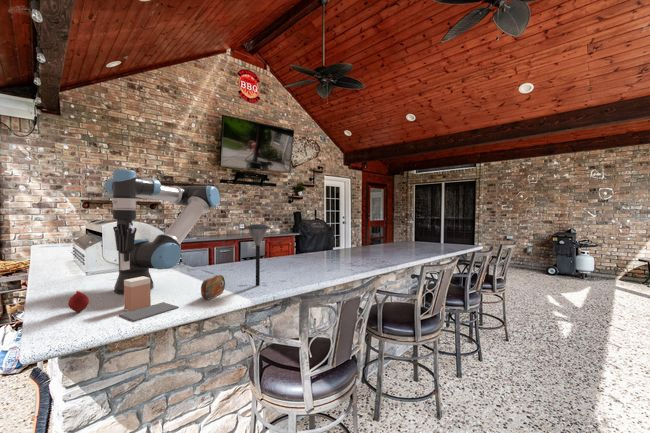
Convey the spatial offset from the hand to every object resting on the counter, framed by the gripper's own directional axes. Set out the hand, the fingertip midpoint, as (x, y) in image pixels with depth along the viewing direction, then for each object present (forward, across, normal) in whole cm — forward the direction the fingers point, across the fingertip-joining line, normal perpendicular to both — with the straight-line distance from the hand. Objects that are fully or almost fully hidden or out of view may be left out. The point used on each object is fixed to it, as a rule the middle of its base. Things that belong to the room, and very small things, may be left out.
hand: (125, 269), depth 118 cm
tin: (+14, +20, +25) cm, 35 cm away
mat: (+14, +17, 0) cm, 22 cm away
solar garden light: (+14, +24, +48) cm, 56 cm away
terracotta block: (+14, +8, 0) cm, 16 cm away
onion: (+14, -4, -14) cm, 20 cm away
